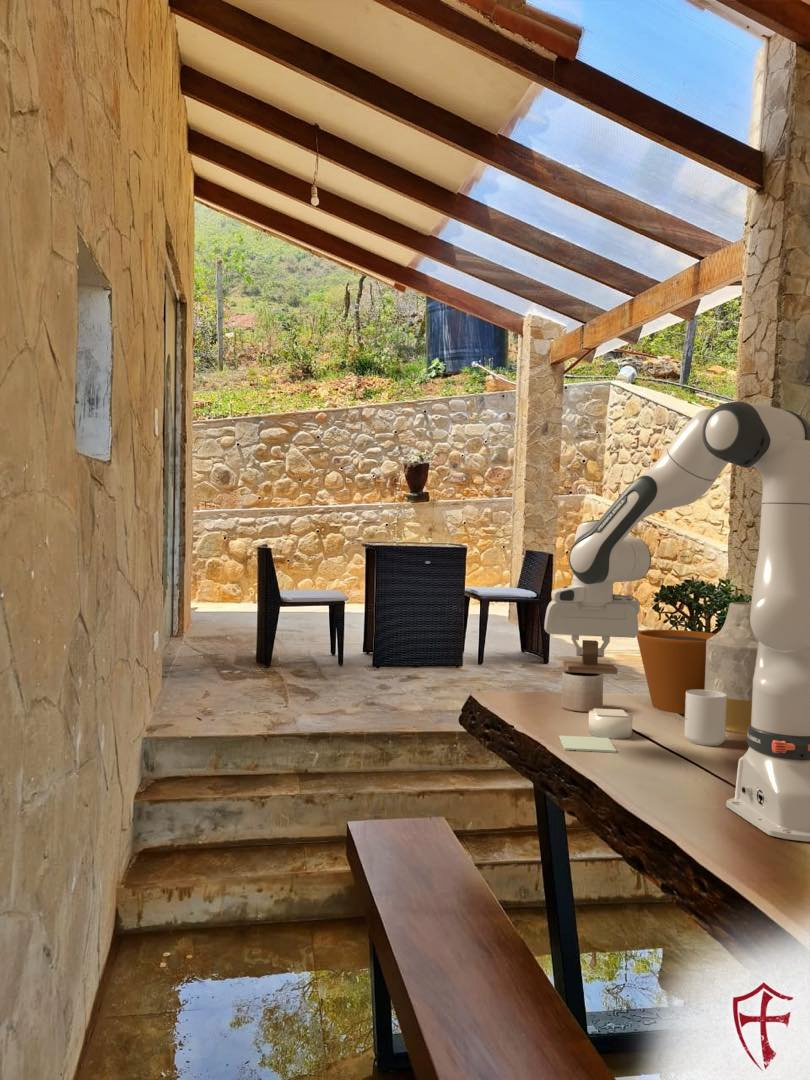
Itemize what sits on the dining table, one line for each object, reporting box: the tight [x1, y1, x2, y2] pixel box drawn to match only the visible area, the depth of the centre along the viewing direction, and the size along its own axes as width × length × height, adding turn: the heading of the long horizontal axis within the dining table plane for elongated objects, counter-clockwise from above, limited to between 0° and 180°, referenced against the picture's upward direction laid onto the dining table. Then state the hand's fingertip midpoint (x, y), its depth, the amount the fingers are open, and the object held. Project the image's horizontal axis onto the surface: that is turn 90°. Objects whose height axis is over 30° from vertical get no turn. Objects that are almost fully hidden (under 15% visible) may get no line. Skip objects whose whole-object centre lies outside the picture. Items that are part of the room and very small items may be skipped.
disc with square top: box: [587, 708, 633, 740], centre depth 200 cm, size 10×10×5 cm
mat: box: [558, 735, 617, 754], centre depth 188 cm, size 11×11×1 cm
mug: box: [683, 690, 727, 747], centre depth 196 cm, size 12×9×11 cm
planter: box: [560, 669, 604, 714], centre depth 227 cm, size 11×11×10 cm
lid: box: [562, 639, 619, 675], centre depth 188 cm, size 10×10×6 cm
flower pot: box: [636, 629, 717, 715], centre depth 231 cm, size 24×24×20 cm
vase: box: [705, 601, 759, 735], centre depth 212 cm, size 18×18×30 cm
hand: (589, 656), depth 188 cm, fingers closed on lid, 3 cm apart
